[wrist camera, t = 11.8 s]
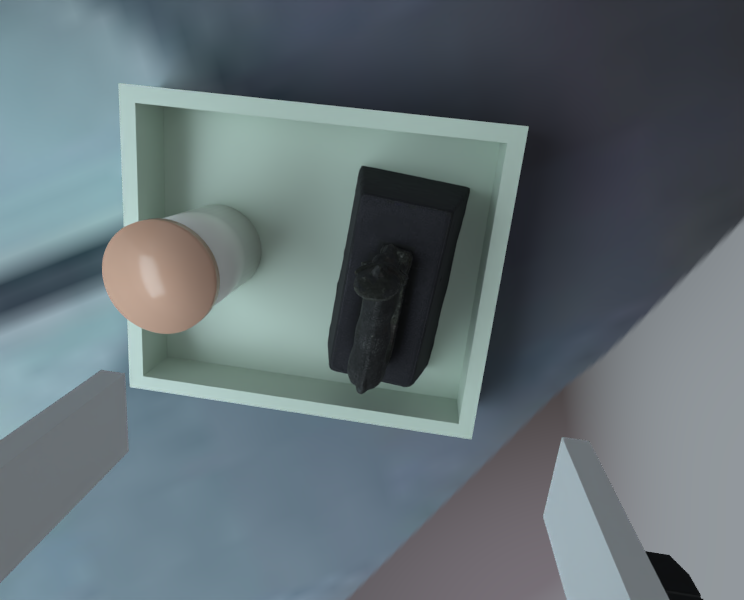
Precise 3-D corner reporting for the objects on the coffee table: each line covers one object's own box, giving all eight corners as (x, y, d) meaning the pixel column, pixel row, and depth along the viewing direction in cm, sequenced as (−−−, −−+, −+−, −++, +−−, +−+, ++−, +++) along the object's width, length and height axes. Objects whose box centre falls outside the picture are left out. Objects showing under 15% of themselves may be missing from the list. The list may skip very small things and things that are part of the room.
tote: (156, 89, 36) (118, 83, 32) (517, 127, 34) (528, 126, 30) (161, 361, 42) (129, 386, 38) (467, 406, 40) (471, 439, 36)
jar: (176, 196, 37) (99, 213, 28) (266, 207, 36) (215, 228, 28) (176, 284, 39) (105, 325, 30) (262, 296, 38) (213, 341, 30)
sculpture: (480, 189, 34) (510, 227, 20) (425, 372, 38) (419, 511, 24) (361, 160, 35) (308, 175, 20) (320, 344, 39) (252, 464, 24)
